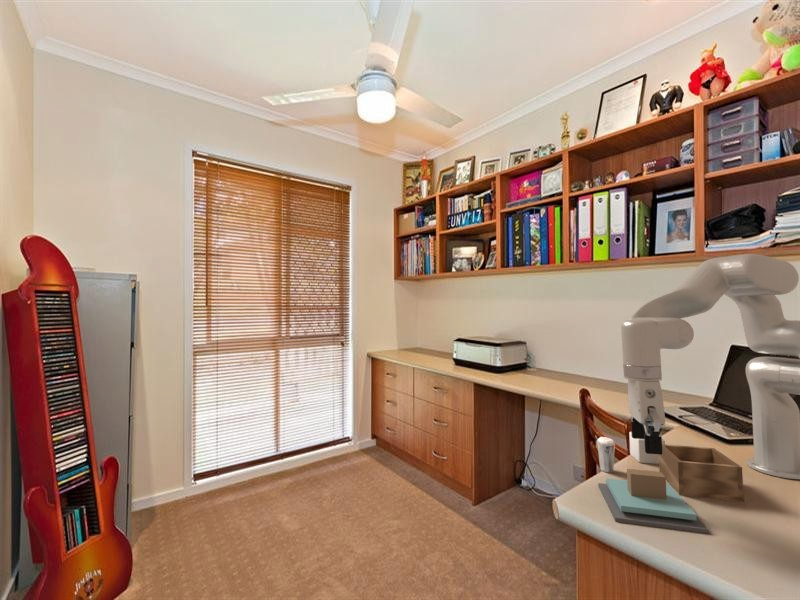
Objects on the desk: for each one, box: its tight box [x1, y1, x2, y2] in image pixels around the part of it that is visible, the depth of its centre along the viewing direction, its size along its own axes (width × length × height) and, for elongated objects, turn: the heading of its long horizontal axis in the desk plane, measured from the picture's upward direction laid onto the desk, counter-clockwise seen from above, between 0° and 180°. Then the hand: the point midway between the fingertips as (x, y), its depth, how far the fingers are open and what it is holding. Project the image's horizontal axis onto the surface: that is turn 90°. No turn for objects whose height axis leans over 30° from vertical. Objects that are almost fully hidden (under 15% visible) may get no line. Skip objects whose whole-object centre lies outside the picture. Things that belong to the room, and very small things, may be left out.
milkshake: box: [595, 436, 616, 474], centre depth 107 cm, size 4×5×10 cm
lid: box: [605, 468, 697, 520], centre depth 87 cm, size 14×14×7 cm
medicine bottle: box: [628, 426, 666, 465], centre depth 114 cm, size 7×7×12 cm
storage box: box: [658, 443, 745, 503], centre depth 97 cm, size 13×13×8 cm
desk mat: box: [597, 482, 710, 535], centre depth 87 cm, size 17×17×1 cm
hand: (646, 445), depth 87 cm, fingers open, 9 cm apart
